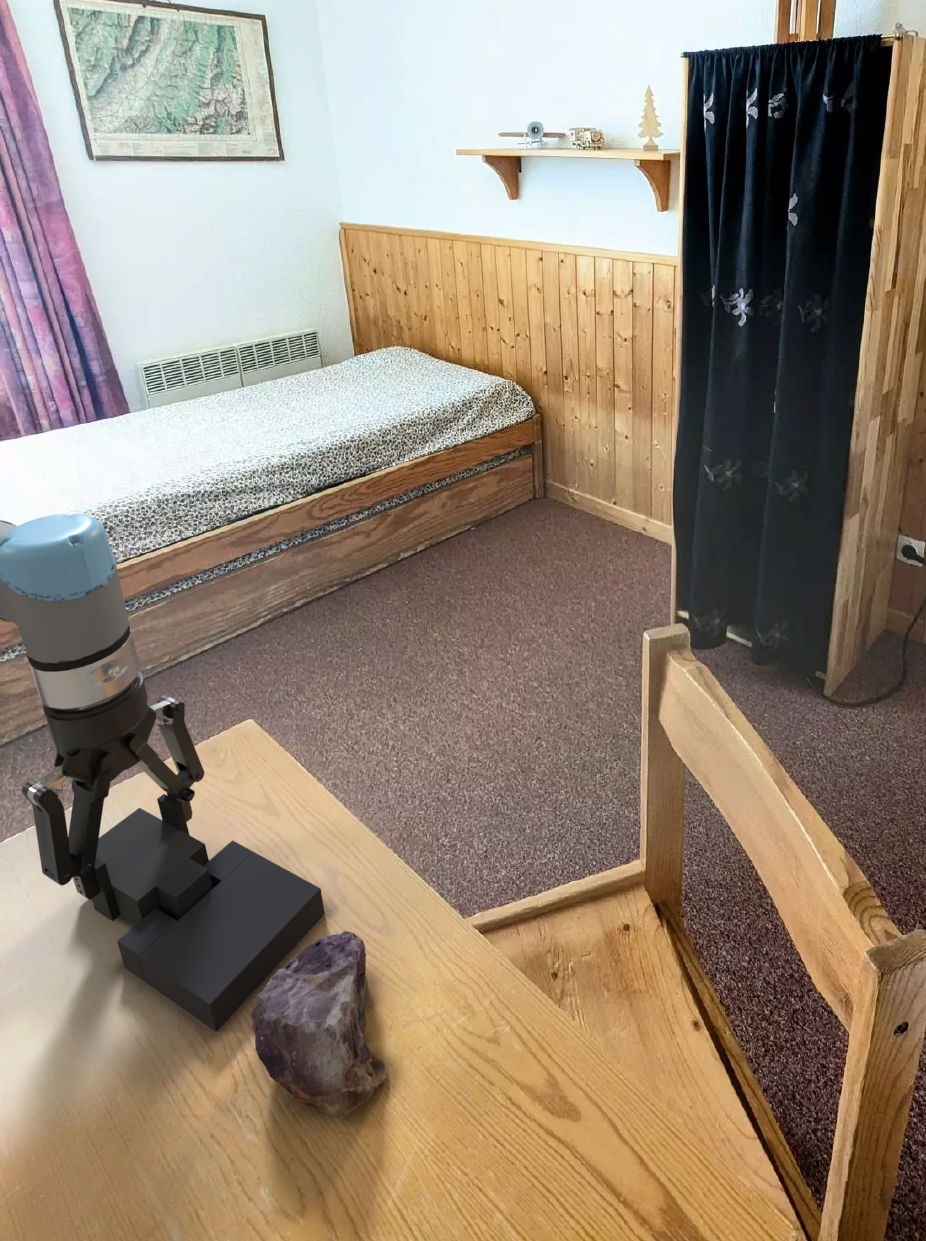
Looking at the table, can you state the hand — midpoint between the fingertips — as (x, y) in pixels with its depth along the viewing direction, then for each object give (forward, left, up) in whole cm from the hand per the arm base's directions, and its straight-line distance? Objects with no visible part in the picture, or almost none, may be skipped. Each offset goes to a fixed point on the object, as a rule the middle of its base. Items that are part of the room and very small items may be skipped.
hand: (146, 880), depth 77 cm
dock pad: (+11, 0, -2) cm, 12 cm away
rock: (+26, -3, -2) cm, 27 cm away
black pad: (+1, 0, 0) cm, 1 cm away
